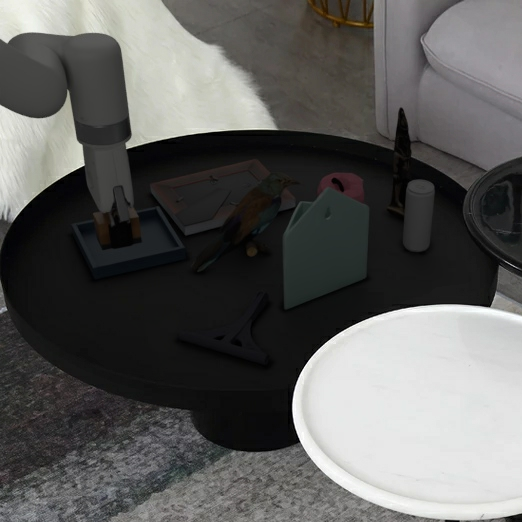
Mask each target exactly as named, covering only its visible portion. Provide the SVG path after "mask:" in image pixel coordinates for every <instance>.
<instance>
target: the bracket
mask: <svg viewBox="0 0 522 522" xmlns="http://www.w3.org/2000/svg"><path fill="white" fill-rule="evenodd" d="M268 301H269V294H268V292H265V291H262V290H258V291H256V293H255V295H254V297H253V298H252V299H251V302H250V303H249V305H248V306H247V309H246V310H245V311H244V313H243V314H242V315H241V316H240V317H239V318H237V319H236V320H234V321H232V322H230V323H229V324H227V325H224V326H222V327H217V328H214V329H213V328H212V329H207V330H189V331H188V330H185V329H181V330H180V332H179V335H178V339H179V341H182V342H185V343H187V344H188V343H189V344H192V345H194V346H195V345H196V346H199V347H202V348H206V349H209V350H212V351H215V352H219V353H222V354H225V355H228V356H232V357H235V358H239V359H243V360H245V361H249V362H252V363H255V364H258V365H259V364H260V365H262V366H267V365H268V364H269V360H270V356H269V354H267V353H266V352H264V351H263V350H262V349H261V348H260V347H259V346H258V345H257V344H256V343H255V341H254V339H253V337H252V334H251V327H252V324H253V322H254V321H255V320H256V318H257V317H259V315H260V314H261V313H262V312H263V310H264V309H265V307H266V306H267V304H268ZM219 338H221V339H220V340H219ZM237 342H239V343H240V344H241V346H239V345H236V343H237Z"/></svg>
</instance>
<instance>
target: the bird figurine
mask: <svg viewBox="0 0 522 522" xmlns="http://www.w3.org/2000/svg"><path fill="white" fill-rule="evenodd" d="M270 173H271V174H270V175H269V176H268V177H267V178H265V179H264V180H263V181H262V182H261V183H260V184H259V185H258V186H256V187H255V188H253V189H252V190H251V191H249V192H248V193H247V194H246V196H245V197H244V198H243V199H242V200H241V201H240V203H239V204H238V206H237V207H236V208H235V209H234V210H233V212H232V213H231V214H230V216H229V217H228V218H227V219H226V221H225V222H224V223H223V225H222V226H221V227H219V232H220V234H219V235H217V237H215V239H213V240H212V241H211V242H210V243H208V244H207V246H205V247H204V248H203V249H202V250H201V251H200V252H199V253H198V254H197V255H196V257H195V260H194V261H193V262H192V264H191V265H190V268H191V269H193V270H195V271H196V272H197V273H200V272H203V271H204V270H205V269H206V268H207V267H209V266H210V265H212V263H213V262H216V261H218V260H219V259H221V258H222V257H225V255H227V254H229V253H231V252H234V251H235V250H237V249H238V248H240V247H242V246H245V251H246V255H247V256H248V257H251V258H252V257H255V256H256V255H257V254H258V252H260V253H264V254H267V253H269V250H270V249H269V247H268V246H267V245H266V244H265V243H263V244H261V243H259V242H257V241H256V240H255V239H254V238H255V237H257V236H258V235H260V234H261V233H262V232H264V230H266V229H267V228H268V226H269V225H271V224H272V222H274V220H275V219H276V218H277V215H278V213H279V212H278V211H279V208H280V206H281V202H282V199H281V197H280V196H281V194H282V192H283V191H284V189H285V188H286V189H287V187H290V186H295V185H301V186H303V183H301V181H298V180H296V179H294V178H291V177H290V176H289V175H287V174H286V173H282V172H281V171H273V172H270Z"/></svg>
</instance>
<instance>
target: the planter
mask: <svg viewBox="0 0 522 522" xmlns="http://www.w3.org/2000/svg"><path fill="white" fill-rule="evenodd" d="M369 230H370V207H369V205H367V204H366V203H365V204H362V203H360V202H358V201H356V200H354V199H352V198H350V197H348V196H346V195H344V194H342V193H340V192H338V191H336V190H334V189H332V188H330V187H326V188H325V189H324V191H323V192H322V193H321V194H320V195H319V197H318V198H317V197H316V199H315V200H314V201H299V202H298V203H297V205H296V207H295V209H294V210H293V213H292V215H291V217H290V220H289V222H288V225H287V227H286V229H285V230H284V233H283V234H282V280H283V281H282V282H283V283H282V284H283V287H282V288H283V308H284V310H289V309H292V308H294V307H297V306H299V305H301V304H304V303H307V302H310V301H312V300H314V299H317V298H319V297H322V296H324V295H325V296H326V295H327V294H330V293H332V292H335V291H337V290H340V289H342V288H345V287H347V286H350V285H352V284H355V283H357V282H360V281H362V280H365V279H367V273H368V257H369V256H368V253H369Z"/></svg>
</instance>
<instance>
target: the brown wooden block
mask: <svg viewBox="0 0 522 522" xmlns="http://www.w3.org/2000/svg"><path fill="white" fill-rule="evenodd" d="M128 211H129V217H130V222H131V228H132V236H133V244H137V243H142V238H141V230H140V222H139V216H138V214H137V213H136V211H137V210H136V209H135V207H134V206H133V207H132V208H131V209H130V208H129V207H128ZM113 215H114V216H115V215H118V213H117V211H114V212H113ZM92 217H93V219H94V224H95V231H96V237H97V240H98V242H99V244H100V246H101V248H102V250H107V249H112V246H111V241H110V234H109V227H108V225H109V224H110V220H109V214H108V212H106V213H102V212H101V211H97V212H92Z"/></svg>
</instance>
